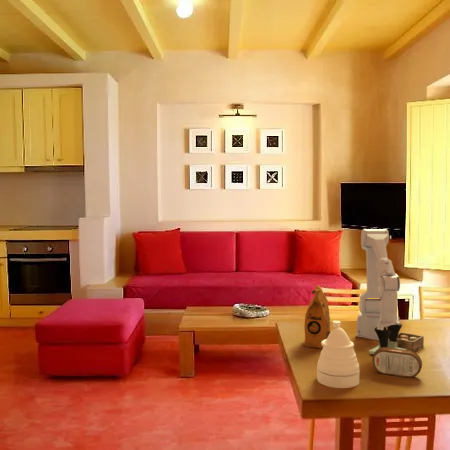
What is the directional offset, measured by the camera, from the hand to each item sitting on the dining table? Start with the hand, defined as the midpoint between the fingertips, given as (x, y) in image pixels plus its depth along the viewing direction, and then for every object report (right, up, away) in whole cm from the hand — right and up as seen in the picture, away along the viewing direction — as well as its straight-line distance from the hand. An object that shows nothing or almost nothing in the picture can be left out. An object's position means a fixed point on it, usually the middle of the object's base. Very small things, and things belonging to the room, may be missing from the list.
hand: (388, 345), depth 182 cm
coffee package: (-23, -3, +13) cm, 27 cm away
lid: (0, -3, 0) cm, 3 cm away
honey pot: (-24, -5, -25) cm, 35 cm away
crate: (+9, -3, +8) cm, 13 cm away
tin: (-4, -5, -21) cm, 22 cm away
